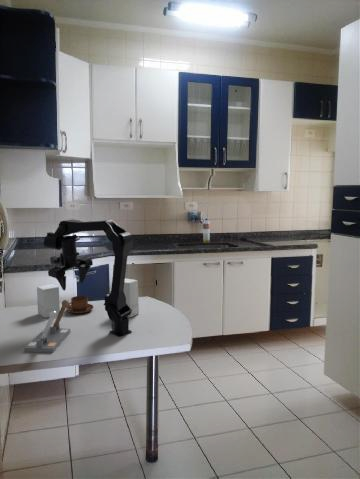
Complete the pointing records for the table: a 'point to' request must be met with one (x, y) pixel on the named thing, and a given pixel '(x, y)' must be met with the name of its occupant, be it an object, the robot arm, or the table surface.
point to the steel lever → (48, 324)
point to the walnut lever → (61, 312)
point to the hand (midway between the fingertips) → (73, 286)
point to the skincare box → (131, 295)
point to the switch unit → (48, 340)
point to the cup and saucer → (79, 305)
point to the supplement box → (48, 299)
